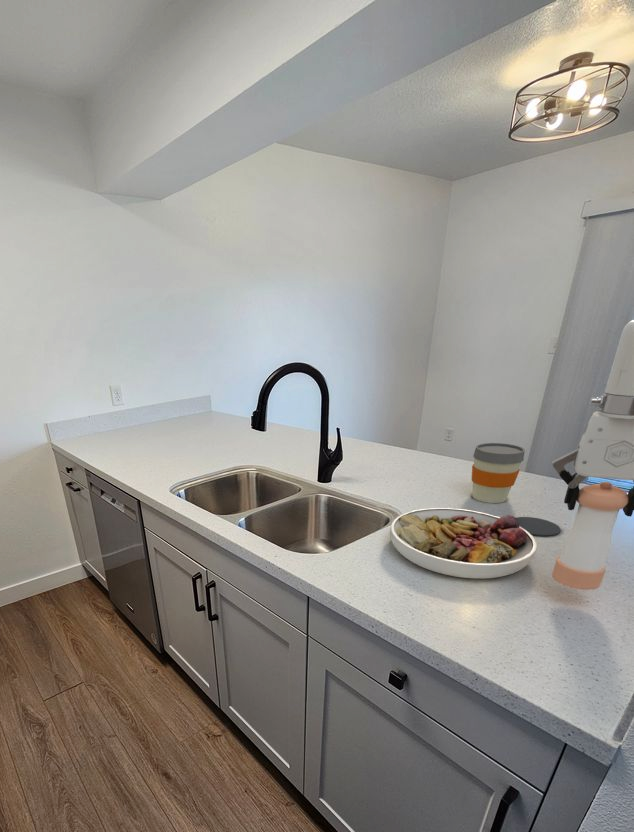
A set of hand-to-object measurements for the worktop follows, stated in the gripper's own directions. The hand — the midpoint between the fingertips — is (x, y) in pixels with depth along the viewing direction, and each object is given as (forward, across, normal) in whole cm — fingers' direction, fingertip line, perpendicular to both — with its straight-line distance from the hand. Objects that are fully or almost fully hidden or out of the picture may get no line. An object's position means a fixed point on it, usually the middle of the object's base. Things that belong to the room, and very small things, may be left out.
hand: (598, 509), depth 75 cm
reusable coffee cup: (+19, -16, +52) cm, 57 cm away
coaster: (+19, -5, +34) cm, 39 cm away
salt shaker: (+14, 0, 0) cm, 14 cm away
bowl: (+18, -21, +12) cm, 30 cm away
